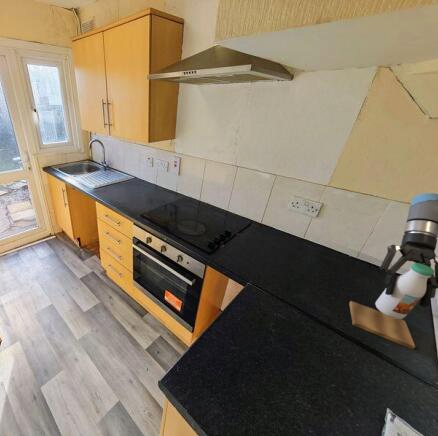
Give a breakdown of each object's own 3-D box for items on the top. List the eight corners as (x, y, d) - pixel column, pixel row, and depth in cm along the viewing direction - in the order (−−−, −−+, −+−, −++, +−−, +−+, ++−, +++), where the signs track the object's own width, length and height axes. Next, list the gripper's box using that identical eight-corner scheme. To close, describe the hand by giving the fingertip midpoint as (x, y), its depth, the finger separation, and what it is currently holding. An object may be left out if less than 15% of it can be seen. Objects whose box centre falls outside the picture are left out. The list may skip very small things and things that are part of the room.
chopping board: (402, 323, 84) (404, 320, 84) (412, 349, 75) (415, 346, 75) (349, 303, 92) (350, 300, 91) (352, 325, 83) (354, 322, 82)
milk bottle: (376, 312, 79) (410, 269, 69) (372, 298, 85) (404, 256, 75) (406, 323, 75) (447, 279, 66) (400, 308, 81) (437, 265, 71)
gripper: (454, 249, 76) (442, 315, 72) (375, 230, 85) (360, 287, 81) (474, 244, 69) (462, 316, 65) (386, 223, 79) (370, 285, 75)
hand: (405, 299), depth 73 cm, fingers closed on milk bottle, 8 cm apart
